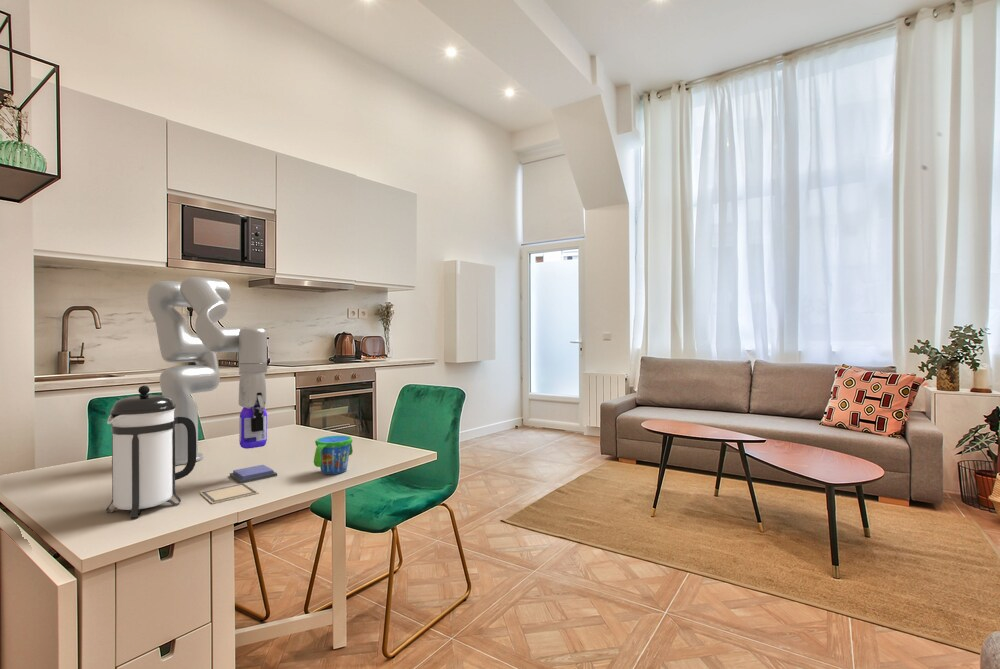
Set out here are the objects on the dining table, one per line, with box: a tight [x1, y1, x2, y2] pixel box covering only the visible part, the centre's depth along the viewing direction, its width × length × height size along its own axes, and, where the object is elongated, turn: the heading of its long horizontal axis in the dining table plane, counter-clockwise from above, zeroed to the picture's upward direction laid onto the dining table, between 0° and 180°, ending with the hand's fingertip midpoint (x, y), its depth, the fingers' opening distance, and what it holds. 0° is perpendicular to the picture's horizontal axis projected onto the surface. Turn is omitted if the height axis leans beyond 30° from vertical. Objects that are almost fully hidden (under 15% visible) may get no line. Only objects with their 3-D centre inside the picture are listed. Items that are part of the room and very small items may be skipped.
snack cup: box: [313, 435, 353, 475], centre depth 147 cm, size 16×10×10 cm
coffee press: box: [105, 385, 197, 520], centre depth 118 cm, size 17×16×30 cm
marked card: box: [199, 482, 259, 505], centre depth 127 cm, size 11×11×1 cm
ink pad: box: [229, 464, 278, 484], centre depth 143 cm, size 10×10×2 cm
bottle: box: [238, 404, 268, 450], centre depth 143 cm, size 7×6×17 cm
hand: (253, 429), depth 143 cm, fingers closed on bottle, 5 cm apart
